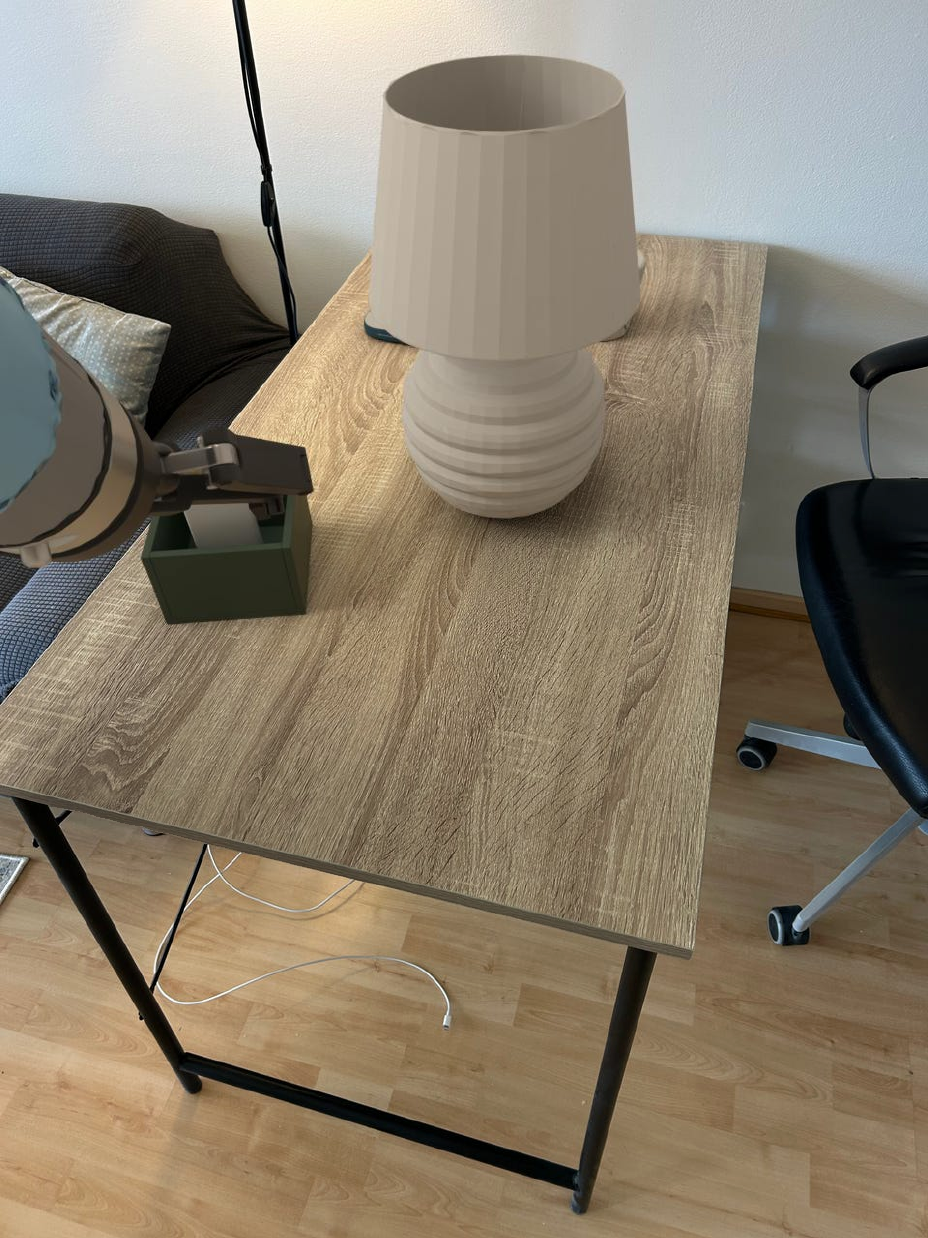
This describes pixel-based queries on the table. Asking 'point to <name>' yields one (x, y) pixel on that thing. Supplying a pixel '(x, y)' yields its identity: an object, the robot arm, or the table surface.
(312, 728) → the table surface
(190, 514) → the cosmetic box
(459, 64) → the table lamp
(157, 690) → the table surface
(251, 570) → the dark green open box
